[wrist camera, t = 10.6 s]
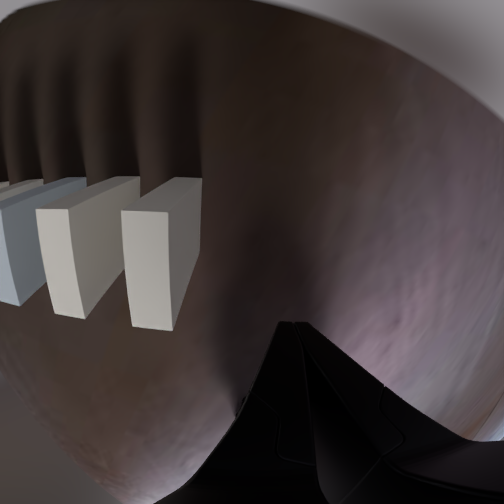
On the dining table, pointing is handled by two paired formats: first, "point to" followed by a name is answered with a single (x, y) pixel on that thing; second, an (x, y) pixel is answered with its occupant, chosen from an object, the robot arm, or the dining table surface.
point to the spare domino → (26, 238)
